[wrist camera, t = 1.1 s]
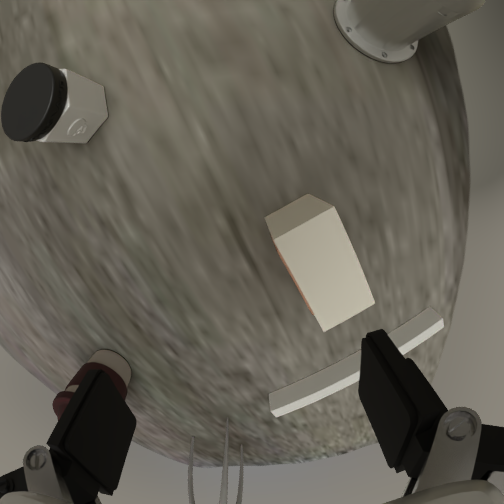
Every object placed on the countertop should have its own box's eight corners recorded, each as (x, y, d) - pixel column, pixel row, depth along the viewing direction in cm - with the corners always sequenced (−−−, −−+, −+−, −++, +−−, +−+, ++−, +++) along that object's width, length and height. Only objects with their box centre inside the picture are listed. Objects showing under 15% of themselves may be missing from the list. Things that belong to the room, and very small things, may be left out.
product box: (308, 193, 33) (334, 206, 23) (344, 268, 36) (375, 303, 26) (262, 218, 34) (270, 241, 24) (302, 290, 37) (321, 333, 27)
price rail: (429, 306, 39) (442, 318, 35) (431, 316, 39) (444, 328, 35) (268, 393, 42) (270, 411, 38) (275, 401, 43) (277, 418, 39)
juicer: (181, 422, 44) (160, 564, 16) (228, 417, 44) (226, 571, 16) (201, 449, 48) (191, 572, 19) (243, 445, 47) (247, 575, 19)
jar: (78, 157, 30) (18, 161, 19) (48, 121, 28) (-10, 117, 17) (121, 104, 28) (70, 84, 17) (88, 70, 26) (36, 46, 15)
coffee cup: (115, 392, 42) (88, 454, 28) (77, 353, 39) (37, 412, 25) (151, 376, 41) (127, 448, 26) (110, 332, 38) (67, 399, 24)
